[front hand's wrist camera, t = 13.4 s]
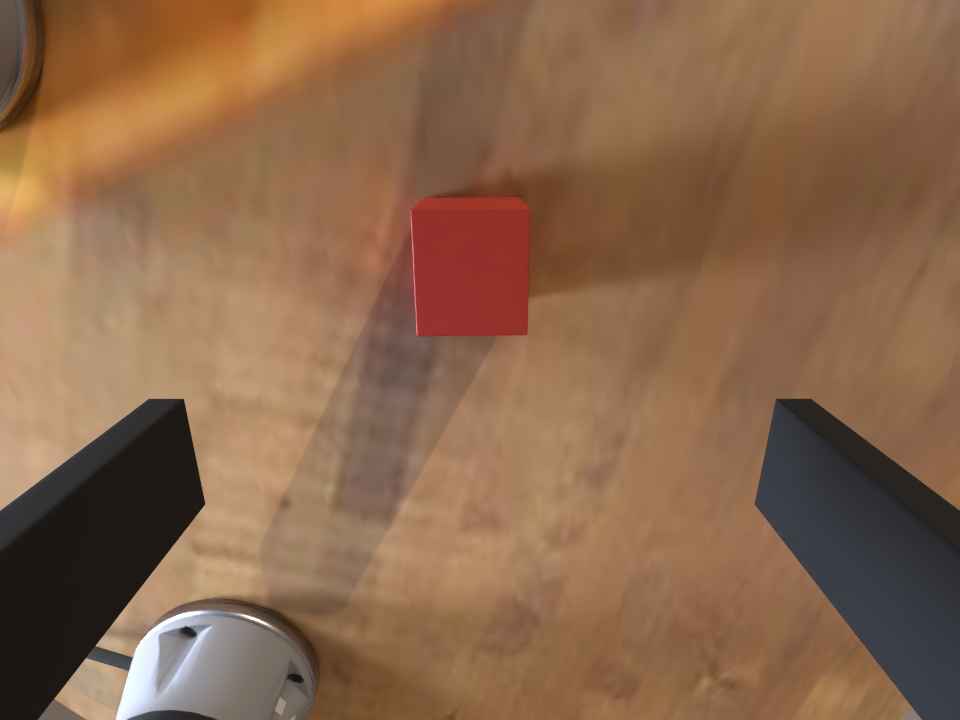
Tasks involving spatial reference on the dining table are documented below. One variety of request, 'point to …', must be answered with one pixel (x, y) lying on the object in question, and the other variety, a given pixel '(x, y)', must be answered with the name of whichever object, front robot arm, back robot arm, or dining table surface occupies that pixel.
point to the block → (471, 266)
